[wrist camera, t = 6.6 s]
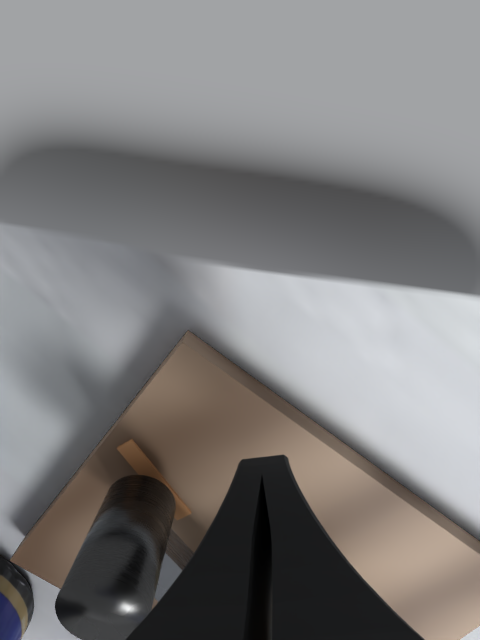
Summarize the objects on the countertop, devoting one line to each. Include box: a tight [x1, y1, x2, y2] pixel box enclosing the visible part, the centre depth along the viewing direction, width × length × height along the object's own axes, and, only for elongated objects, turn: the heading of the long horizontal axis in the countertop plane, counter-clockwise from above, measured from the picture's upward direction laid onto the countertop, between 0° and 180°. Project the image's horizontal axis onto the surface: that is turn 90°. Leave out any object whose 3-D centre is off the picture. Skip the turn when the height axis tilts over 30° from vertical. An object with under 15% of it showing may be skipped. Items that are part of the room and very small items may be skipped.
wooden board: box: [10, 331, 480, 640], centre depth 18 cm, size 18×13×1 cm
